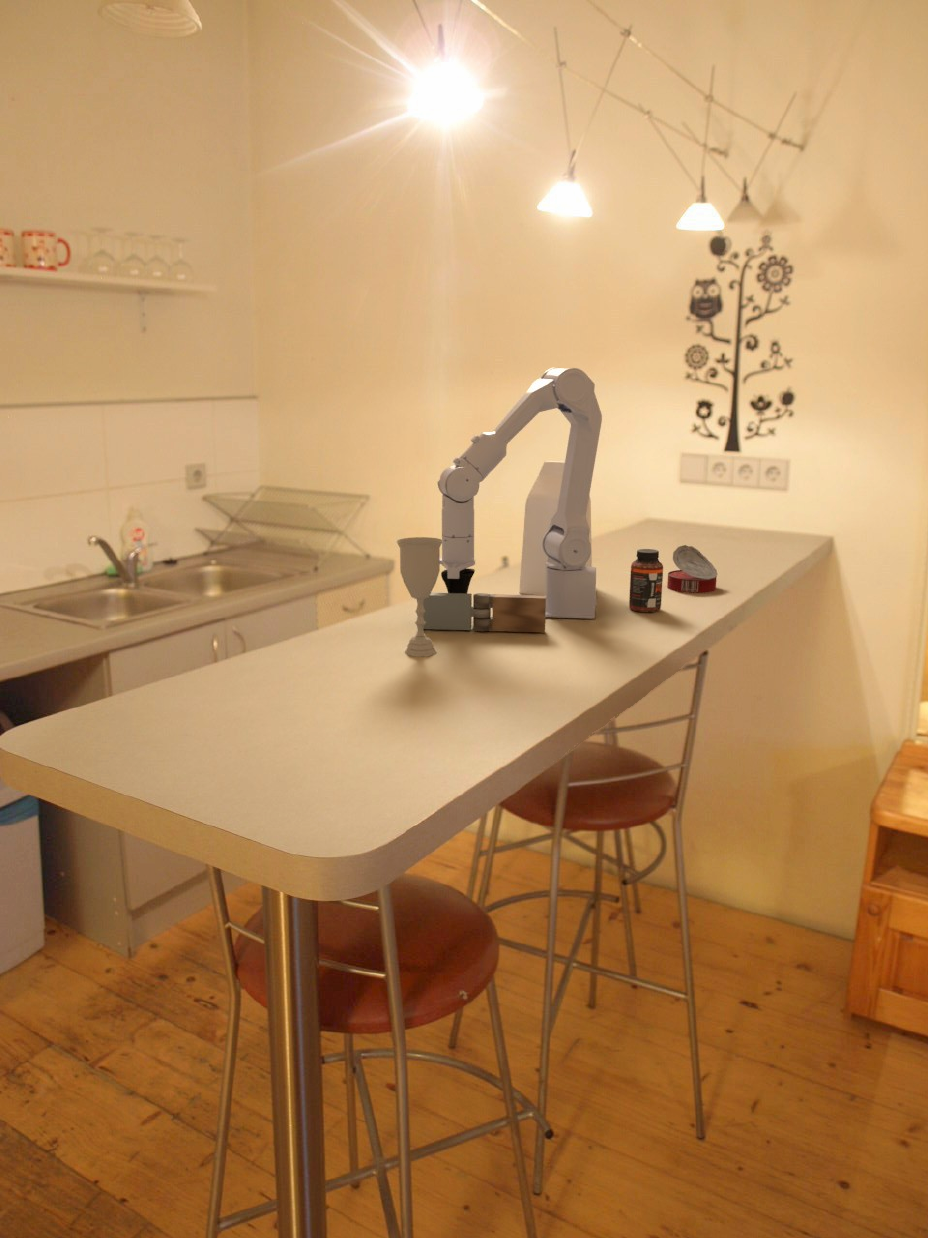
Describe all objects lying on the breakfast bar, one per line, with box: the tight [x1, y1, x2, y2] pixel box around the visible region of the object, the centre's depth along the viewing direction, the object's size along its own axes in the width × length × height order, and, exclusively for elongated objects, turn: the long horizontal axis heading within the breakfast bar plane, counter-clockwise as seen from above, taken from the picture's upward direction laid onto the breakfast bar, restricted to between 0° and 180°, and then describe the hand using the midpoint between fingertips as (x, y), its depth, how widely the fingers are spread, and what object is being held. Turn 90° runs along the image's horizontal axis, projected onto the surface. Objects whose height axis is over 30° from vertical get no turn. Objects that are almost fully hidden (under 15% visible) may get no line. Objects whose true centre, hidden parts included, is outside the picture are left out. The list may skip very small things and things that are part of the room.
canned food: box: [666, 544, 718, 594], centre depth 205 cm, size 11×10×10 cm
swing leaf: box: [423, 592, 492, 631], centre depth 172 cm, size 12×3×6 cm, turn 85°
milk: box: [519, 460, 593, 596], centre depth 201 cm, size 12×12×26 cm
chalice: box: [396, 536, 443, 657], centre depth 158 cm, size 7×7×18 cm
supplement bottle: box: [628, 548, 664, 613], centre depth 186 cm, size 6×6×11 cm
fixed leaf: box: [472, 592, 547, 633], centre depth 171 cm, size 12×3×6 cm, turn 83°
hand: (458, 610), depth 179 cm, fingers closed
